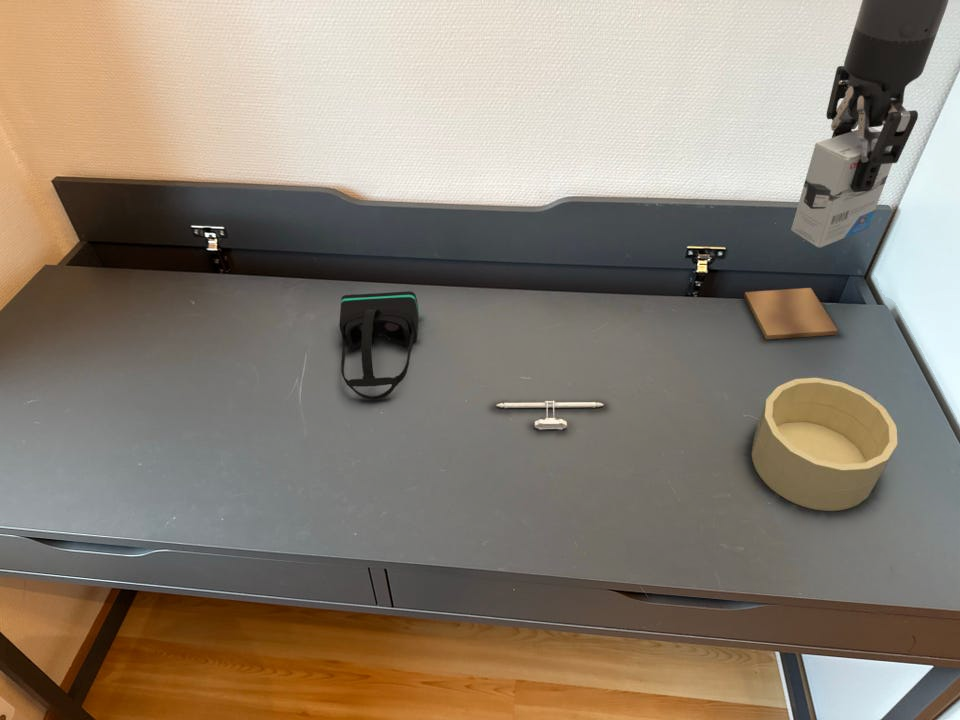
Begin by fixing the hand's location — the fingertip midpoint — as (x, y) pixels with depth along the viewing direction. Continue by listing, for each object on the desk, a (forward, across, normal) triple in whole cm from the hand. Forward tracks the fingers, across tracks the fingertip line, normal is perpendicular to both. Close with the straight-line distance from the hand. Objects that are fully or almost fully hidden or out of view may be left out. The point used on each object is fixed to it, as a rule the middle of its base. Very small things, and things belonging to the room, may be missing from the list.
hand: (847, 174), depth 82 cm
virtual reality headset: (+25, +1, +59) cm, 64 cm away
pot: (+25, -22, +6) cm, 34 cm away
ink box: (+8, 0, 0) cm, 8 cm away
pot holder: (+25, +5, -1) cm, 26 cm away
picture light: (+25, -12, +36) cm, 46 cm away
